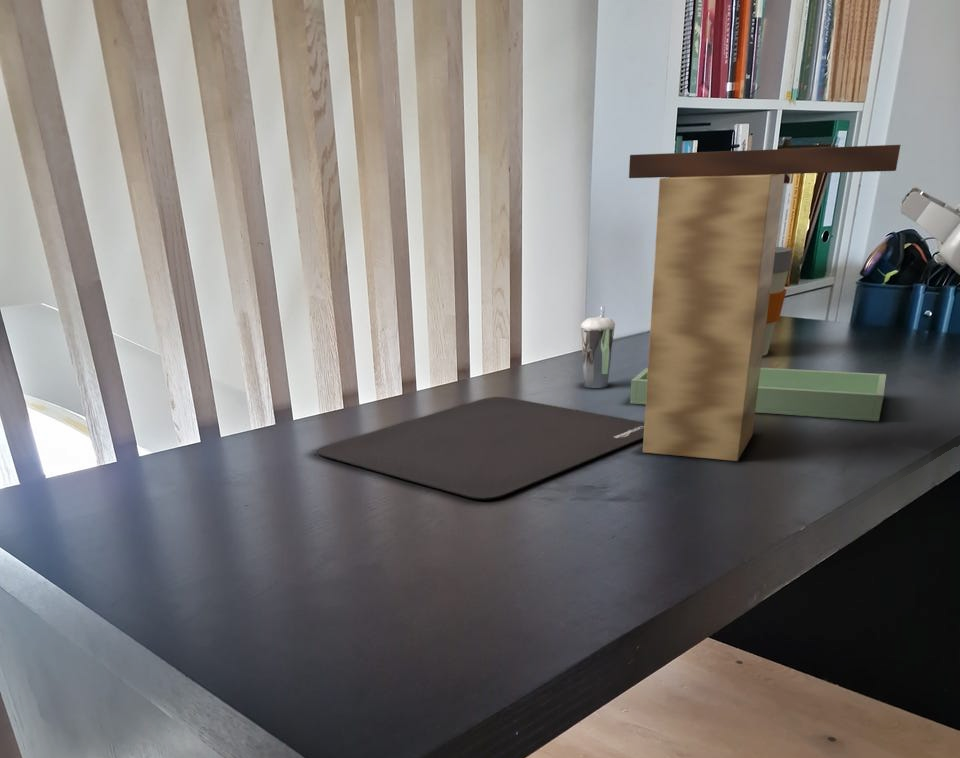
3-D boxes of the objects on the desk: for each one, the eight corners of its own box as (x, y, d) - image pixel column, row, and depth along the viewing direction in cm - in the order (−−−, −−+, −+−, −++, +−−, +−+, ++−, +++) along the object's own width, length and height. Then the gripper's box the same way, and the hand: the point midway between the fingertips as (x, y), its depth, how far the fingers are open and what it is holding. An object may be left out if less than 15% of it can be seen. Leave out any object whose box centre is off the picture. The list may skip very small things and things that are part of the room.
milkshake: (616, 381, 122) (619, 306, 117) (608, 390, 117) (611, 313, 112) (584, 380, 123) (586, 306, 118) (576, 388, 119) (577, 312, 114)
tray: (881, 398, 109) (886, 374, 107) (878, 421, 100) (883, 395, 98) (652, 384, 120) (653, 361, 118) (630, 403, 111) (631, 380, 109)
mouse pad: (487, 503, 79) (487, 501, 79) (308, 452, 95) (308, 450, 95) (668, 428, 99) (668, 426, 99) (495, 396, 115) (495, 395, 115)
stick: (896, 170, 77) (900, 144, 76) (895, 170, 75) (900, 144, 74) (633, 177, 86) (635, 154, 85) (628, 178, 84) (629, 154, 83)
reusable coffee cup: (685, 356, 136) (694, 252, 128) (715, 342, 144) (725, 245, 137) (764, 363, 129) (778, 254, 122) (790, 348, 138) (804, 246, 131)
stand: (752, 435, 96) (785, 172, 84) (737, 461, 88) (771, 175, 76) (664, 428, 100) (682, 175, 87) (642, 452, 92) (659, 178, 79)
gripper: (1053, 238, 82) (930, 159, 83) (1087, 261, 66) (934, 163, 67) (1000, 298, 86) (884, 222, 87) (1020, 334, 70) (877, 240, 71)
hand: (905, 197), depth 77 cm, fingers open, 8 cm apart
